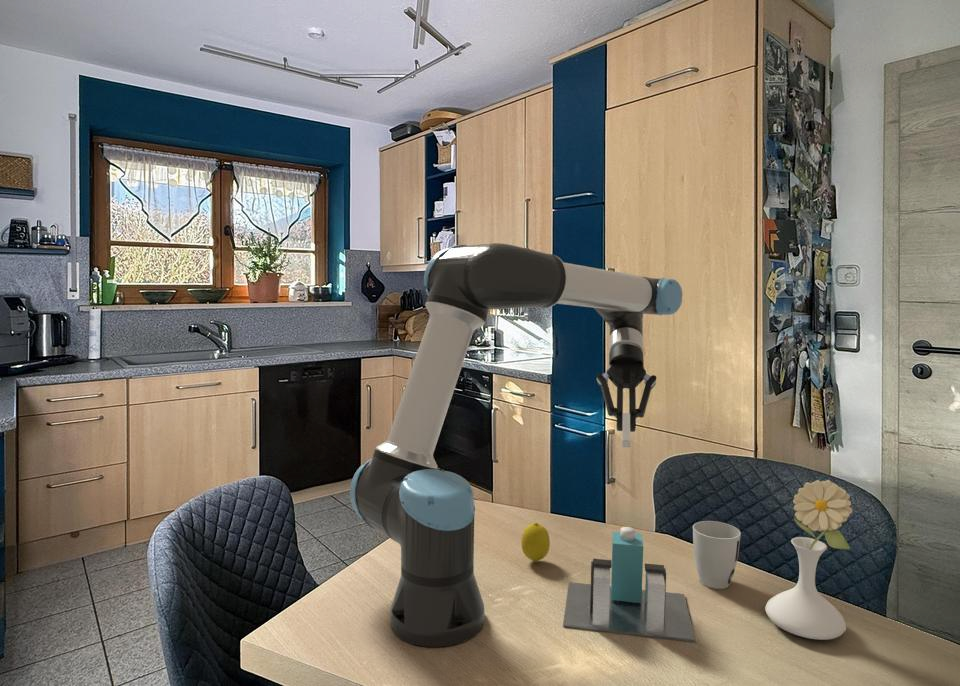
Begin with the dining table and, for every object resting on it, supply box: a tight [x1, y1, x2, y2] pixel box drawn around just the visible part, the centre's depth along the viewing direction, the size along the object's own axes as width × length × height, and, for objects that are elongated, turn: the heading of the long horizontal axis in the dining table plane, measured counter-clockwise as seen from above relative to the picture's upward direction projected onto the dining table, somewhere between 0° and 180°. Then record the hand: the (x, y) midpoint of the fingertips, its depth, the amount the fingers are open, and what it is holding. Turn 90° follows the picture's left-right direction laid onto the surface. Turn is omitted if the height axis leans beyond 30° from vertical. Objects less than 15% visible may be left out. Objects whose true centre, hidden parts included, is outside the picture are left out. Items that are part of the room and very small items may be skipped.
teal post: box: [610, 526, 644, 603], centre depth 105 cm, size 5×5×12 cm
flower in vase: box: [764, 479, 853, 641], centre depth 95 cm, size 13×11×25 cm
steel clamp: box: [562, 558, 696, 643], centre depth 101 cm, size 20×14×9 cm
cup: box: [692, 520, 742, 590], centre depth 111 cm, size 8×8×10 cm
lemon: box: [520, 522, 551, 563], centre depth 119 cm, size 6×6×8 cm
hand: (626, 443), depth 123 cm, fingers closed
